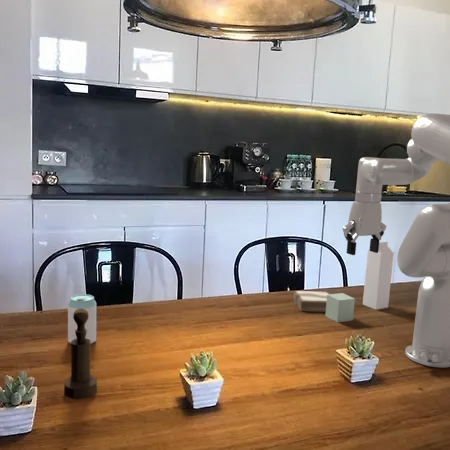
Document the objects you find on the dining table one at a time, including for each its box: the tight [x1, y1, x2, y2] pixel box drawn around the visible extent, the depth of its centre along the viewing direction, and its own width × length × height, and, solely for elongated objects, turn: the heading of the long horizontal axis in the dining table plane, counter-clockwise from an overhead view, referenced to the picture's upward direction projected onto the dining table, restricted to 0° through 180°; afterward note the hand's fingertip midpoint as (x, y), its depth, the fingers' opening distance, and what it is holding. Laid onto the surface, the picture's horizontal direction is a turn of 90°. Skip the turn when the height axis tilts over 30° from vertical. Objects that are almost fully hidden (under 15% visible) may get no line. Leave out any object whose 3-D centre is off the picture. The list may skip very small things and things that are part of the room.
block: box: [325, 292, 356, 323], centre depth 165 cm, size 6×6×7 cm
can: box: [67, 293, 97, 345], centre depth 136 cm, size 7×7×12 cm
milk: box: [362, 241, 395, 311], centre depth 178 cm, size 6×6×22 cm
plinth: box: [292, 290, 330, 312], centre depth 177 cm, size 12×12×3 cm
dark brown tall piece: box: [63, 309, 98, 400], centre depth 110 cm, size 7×6×18 cm
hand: (362, 253), depth 165 cm, fingers open, 9 cm apart
